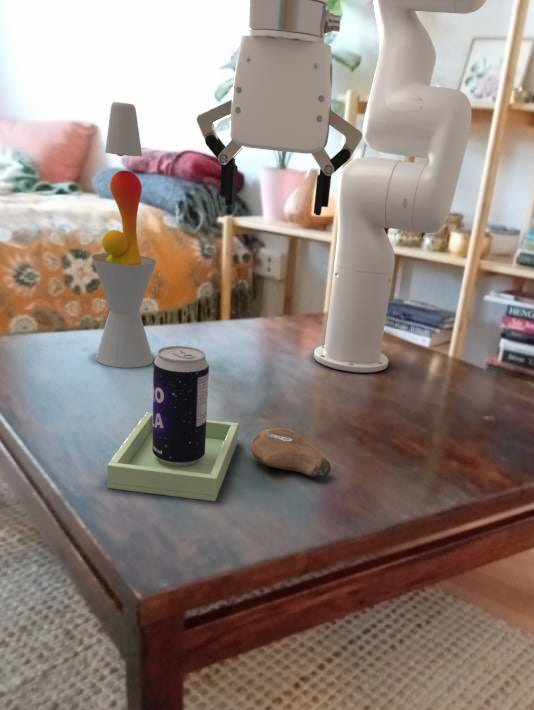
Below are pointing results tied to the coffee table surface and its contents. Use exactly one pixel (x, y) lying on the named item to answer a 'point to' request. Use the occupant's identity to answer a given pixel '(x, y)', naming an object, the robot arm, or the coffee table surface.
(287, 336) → the coffee table surface
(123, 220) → the lava lamp
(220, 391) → the coffee table surface
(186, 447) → the beverage can
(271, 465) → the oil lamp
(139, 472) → the tray
